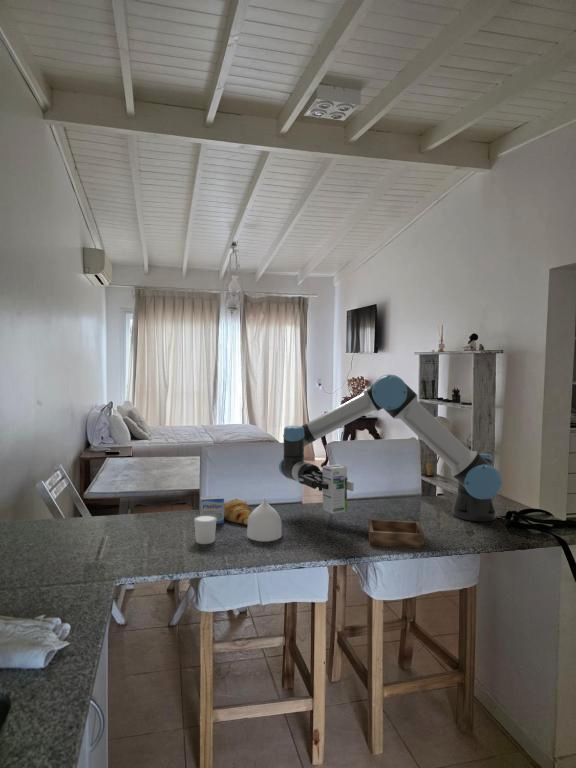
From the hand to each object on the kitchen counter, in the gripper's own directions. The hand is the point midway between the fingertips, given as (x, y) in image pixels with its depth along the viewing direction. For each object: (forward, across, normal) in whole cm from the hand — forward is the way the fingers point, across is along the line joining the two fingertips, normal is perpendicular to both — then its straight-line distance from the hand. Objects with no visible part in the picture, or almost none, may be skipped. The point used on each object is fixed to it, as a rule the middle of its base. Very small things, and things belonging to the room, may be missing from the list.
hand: (343, 487), depth 156 cm
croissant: (-35, +22, -16) cm, 45 cm away
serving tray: (+7, -15, -16) cm, 23 cm away
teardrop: (-15, +20, -16) cm, 30 cm away
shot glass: (-18, +39, -16) cm, 46 cm away
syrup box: (-5, 0, -9) cm, 10 cm away
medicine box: (-34, +31, -16) cm, 49 cm away
